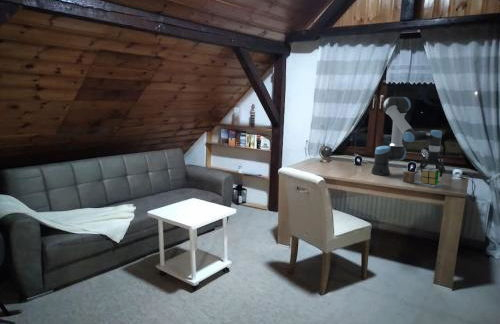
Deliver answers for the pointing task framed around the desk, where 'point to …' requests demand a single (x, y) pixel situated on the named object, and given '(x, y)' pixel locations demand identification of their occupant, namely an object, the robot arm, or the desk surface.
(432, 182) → the puzzle cube
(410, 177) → the walnut block
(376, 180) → the desk surface
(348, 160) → the desk surface
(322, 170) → the desk surface
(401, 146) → the robot arm
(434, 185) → the build board
